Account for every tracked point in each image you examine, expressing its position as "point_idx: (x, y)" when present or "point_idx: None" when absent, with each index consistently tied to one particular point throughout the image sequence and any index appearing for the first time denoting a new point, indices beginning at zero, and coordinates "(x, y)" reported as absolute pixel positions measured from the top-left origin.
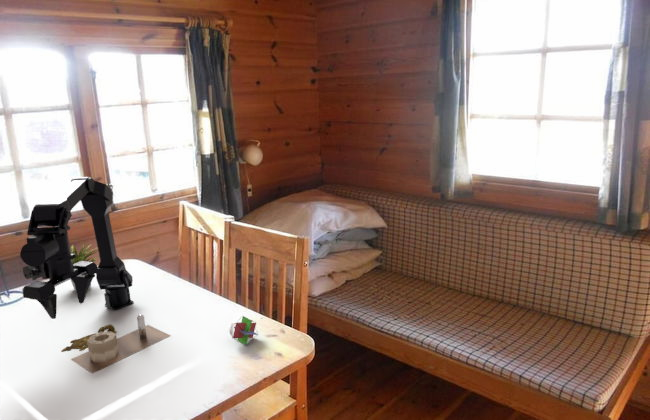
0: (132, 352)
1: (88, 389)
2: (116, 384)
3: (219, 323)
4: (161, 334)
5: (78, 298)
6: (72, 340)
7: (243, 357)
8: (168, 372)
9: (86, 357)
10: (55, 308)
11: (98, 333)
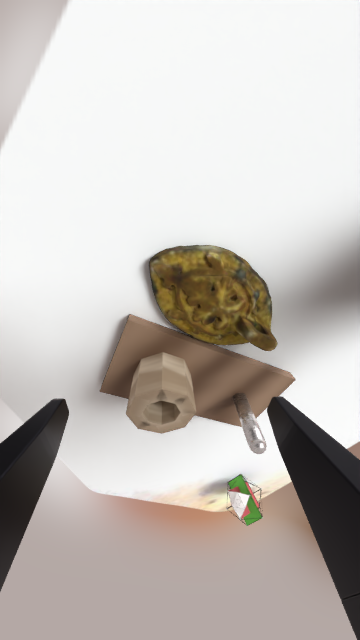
0: None
1: (72, 395)
2: (102, 419)
3: None
4: None
5: (289, 422)
6: (213, 258)
7: (201, 487)
8: (152, 451)
9: (145, 348)
10: (20, 518)
11: (179, 396)
